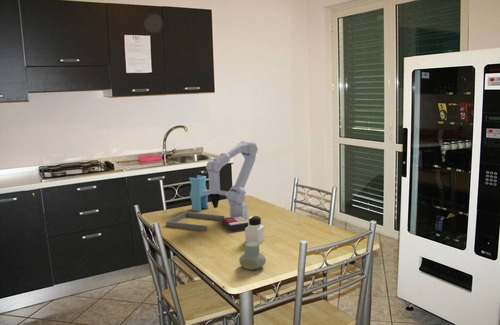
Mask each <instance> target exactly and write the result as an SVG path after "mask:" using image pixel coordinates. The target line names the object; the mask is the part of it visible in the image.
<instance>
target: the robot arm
mask: <svg viewBox="0 0 500 325" xmlns="http://www.w3.org/2000/svg"><path fill="white" fill-rule="evenodd" d="M258 150H259V149H258V146H257V144H256V143H255V142H249V141H244V140H243V141H240V142H238V143H237V145H236V146H234V147H233V148H232V149H230V150H229V151H227V153H225V152H223V153H222V152H221V153H220V154H219V156H217V157H214V158H213V159H212V160H210V159H209V161H207V163H206V166H205V168H206V170H207V173H208V188H209V189H207V190H202V194H208V198H209V199H210V201H211V204H212V206H213V208H214V209H217V208H218V207H219V203H220V200H221V199H220V198H221V197H222V196H225V197H226V199H227V201H228V204H229V217H228V218H230V217H231V218H232V217H237V216H240V217H242V218H244V219H245V220H246V219H248V218H249V217H248V206H247V204H246V203H244V202H245V199H246V194H247V191H246V190H245V187H246V184H247V182H248V180H249V177H250V175H251V171H252V170H253V166H254V164H255V161H256V158H257V156H256V155H257V153H258ZM239 154H241V155H242V156H243V158H244V161H243V164H242V166H241V169H240V172H239V174H238V177H237V179H236V181H235V184H234V185H232V186H231V187H230V189H229V190H228V191H226V190H221V181H220V180H221V179H220V178H221V177H220V171H221V169H223V167H224V166H226V165H227V164H229V163H230V161H231V159H232V158H234V157H236V156H237V155H239Z"/></svg>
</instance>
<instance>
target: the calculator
mask: <svg viewBox="0 0 500 325" xmlns="http://www.w3.org/2000/svg"><path fill="white" fill-rule="evenodd" d="M229 217H230V216H229ZM229 217H224V218H223V219H222V220H221V225H222V226H223V227H225V229H227V230H228V231H229V232H230V233H234V232H235V233H236V232H240V231H245V228H246V227H248V220H246V219H244V218H242V217H240V216H237V217H232V218H231V217H230V218H229Z"/></svg>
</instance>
